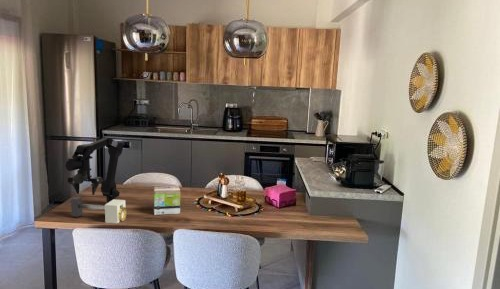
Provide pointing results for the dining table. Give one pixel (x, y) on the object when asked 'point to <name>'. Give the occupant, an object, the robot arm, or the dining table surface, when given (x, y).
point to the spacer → (121, 213)
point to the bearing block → (113, 211)
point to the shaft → (82, 206)
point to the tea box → (166, 200)
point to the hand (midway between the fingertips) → (85, 194)
